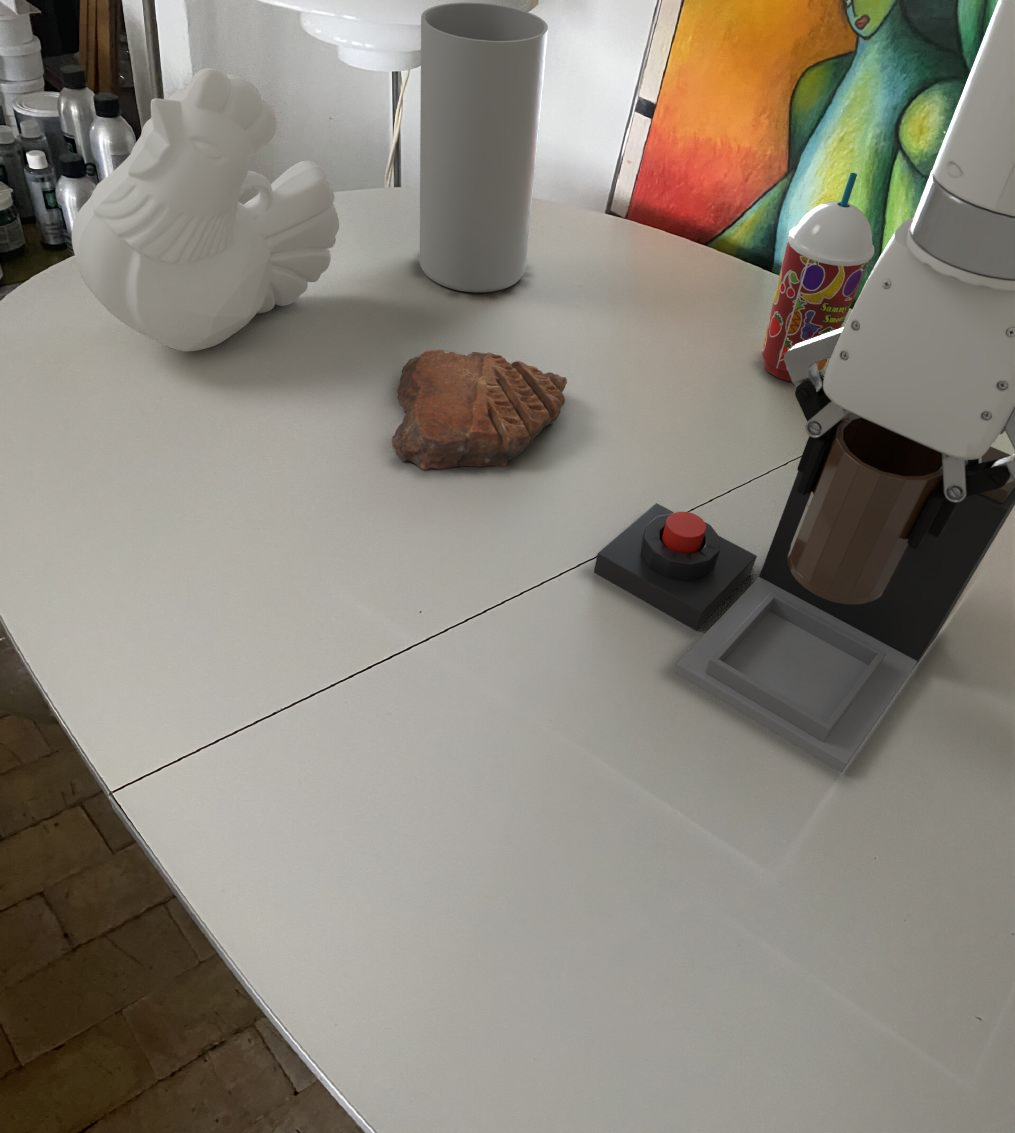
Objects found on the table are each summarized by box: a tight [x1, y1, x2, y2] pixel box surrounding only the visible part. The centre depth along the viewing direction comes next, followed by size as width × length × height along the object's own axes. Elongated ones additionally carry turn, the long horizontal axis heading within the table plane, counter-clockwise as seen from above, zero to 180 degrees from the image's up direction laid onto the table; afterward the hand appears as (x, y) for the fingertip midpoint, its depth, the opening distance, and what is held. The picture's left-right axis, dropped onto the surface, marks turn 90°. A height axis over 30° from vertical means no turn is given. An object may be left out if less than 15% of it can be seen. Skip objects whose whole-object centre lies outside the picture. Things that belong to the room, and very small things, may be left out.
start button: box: [662, 511, 706, 554], centre depth 76 cm, size 3×3×2 cm
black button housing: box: [593, 502, 758, 632], centre depth 78 cm, size 10×9×4 cm
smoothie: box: [761, 172, 875, 382], centre depth 96 cm, size 8×8×20 cm
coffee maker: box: [674, 412, 1015, 773], centre depth 68 cm, size 14×18×17 cm
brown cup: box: [788, 415, 943, 604], centre depth 61 cm, size 7×7×10 cm
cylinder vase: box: [419, 2, 549, 293], centre depth 103 cm, size 12×12×25 cm
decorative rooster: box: [71, 67, 340, 352], centre depth 92 cm, size 25×16×25 cm
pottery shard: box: [391, 349, 568, 471], centre depth 91 cm, size 16×16×4 cm
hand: (865, 508), depth 60 cm, fingers closed on brown cup, 6 cm apart
